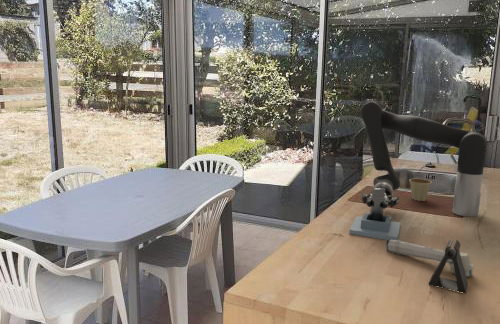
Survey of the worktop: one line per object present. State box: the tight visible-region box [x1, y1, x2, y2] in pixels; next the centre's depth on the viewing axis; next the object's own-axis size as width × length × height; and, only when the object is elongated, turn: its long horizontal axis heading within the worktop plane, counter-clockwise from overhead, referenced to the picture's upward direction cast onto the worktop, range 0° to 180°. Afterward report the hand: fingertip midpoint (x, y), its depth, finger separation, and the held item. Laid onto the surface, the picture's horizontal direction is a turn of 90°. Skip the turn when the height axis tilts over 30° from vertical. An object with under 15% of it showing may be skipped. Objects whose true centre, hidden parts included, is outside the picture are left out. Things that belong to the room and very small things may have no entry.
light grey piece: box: [385, 239, 475, 278], centre depth 128 cm, size 5×7×25 cm
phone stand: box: [428, 238, 469, 294], centre depth 113 cm, size 9×6×12 cm, turn 58°
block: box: [348, 212, 402, 241], centre depth 153 cm, size 16×16×4 cm
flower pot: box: [409, 178, 433, 202], centre depth 192 cm, size 9×9×9 cm
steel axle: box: [369, 186, 385, 222], centre depth 152 cm, size 4×4×12 cm
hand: (376, 205), depth 149 cm, fingers closed on steel axle, 4 cm apart
